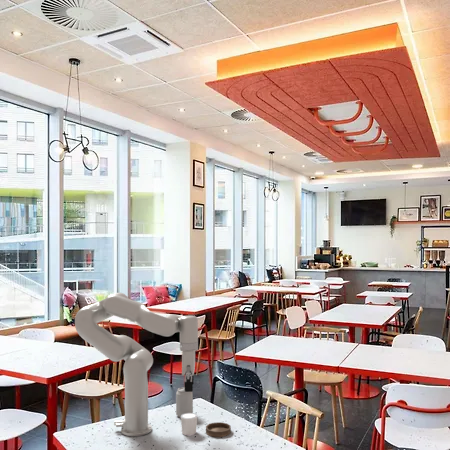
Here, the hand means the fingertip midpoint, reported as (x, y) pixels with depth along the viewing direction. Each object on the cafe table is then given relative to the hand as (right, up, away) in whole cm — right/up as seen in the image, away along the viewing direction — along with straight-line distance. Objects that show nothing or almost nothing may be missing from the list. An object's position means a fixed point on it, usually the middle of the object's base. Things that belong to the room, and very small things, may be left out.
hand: (189, 387), depth 201 cm
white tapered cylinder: (0, -18, -1) cm, 18 cm away
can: (-4, -19, +19) cm, 27 cm away
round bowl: (+12, -18, 0) cm, 22 cm away
